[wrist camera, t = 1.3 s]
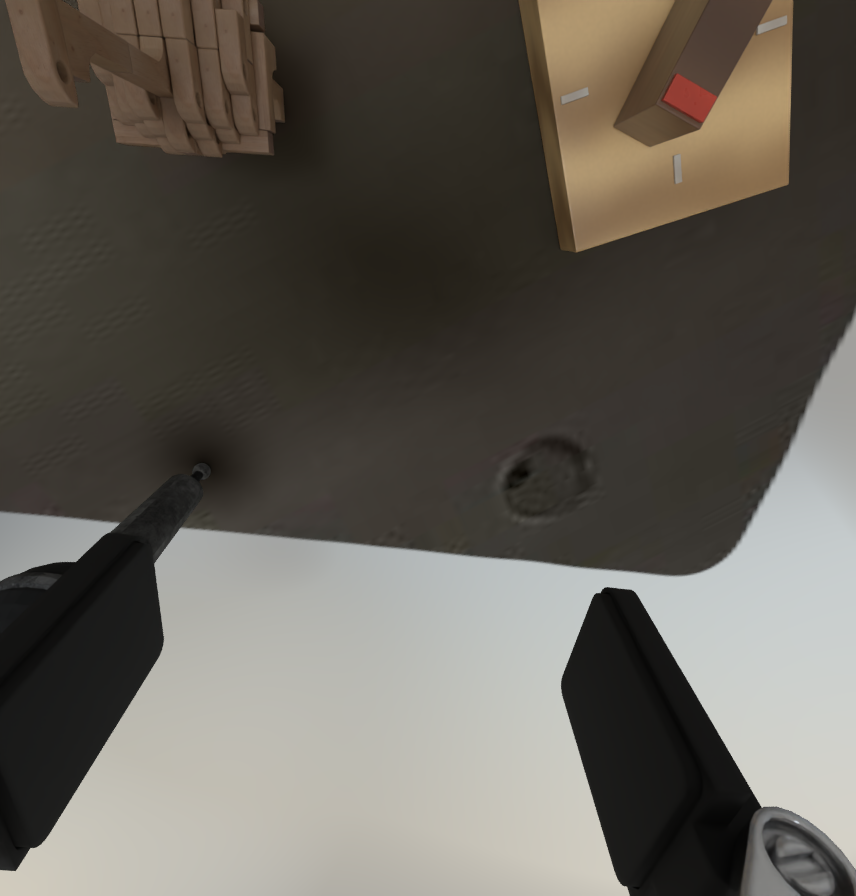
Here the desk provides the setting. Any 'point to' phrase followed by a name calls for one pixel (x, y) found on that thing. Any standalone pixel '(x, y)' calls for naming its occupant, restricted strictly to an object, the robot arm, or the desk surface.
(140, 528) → the microphone
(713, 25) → the arm
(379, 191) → the desk surface
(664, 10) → the wooden dial board
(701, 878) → the robot arm
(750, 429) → the desk surface
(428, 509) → the desk surface
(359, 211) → the desk surface
